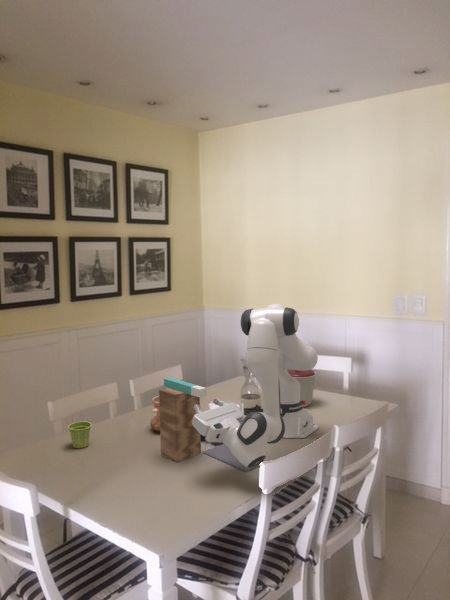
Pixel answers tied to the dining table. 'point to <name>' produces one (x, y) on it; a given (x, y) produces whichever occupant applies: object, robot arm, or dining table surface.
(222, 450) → the mat
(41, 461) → the dining table surface
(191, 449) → the tall stand
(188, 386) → the block
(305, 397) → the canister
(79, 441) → the plant pot
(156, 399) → the ceramic jug
